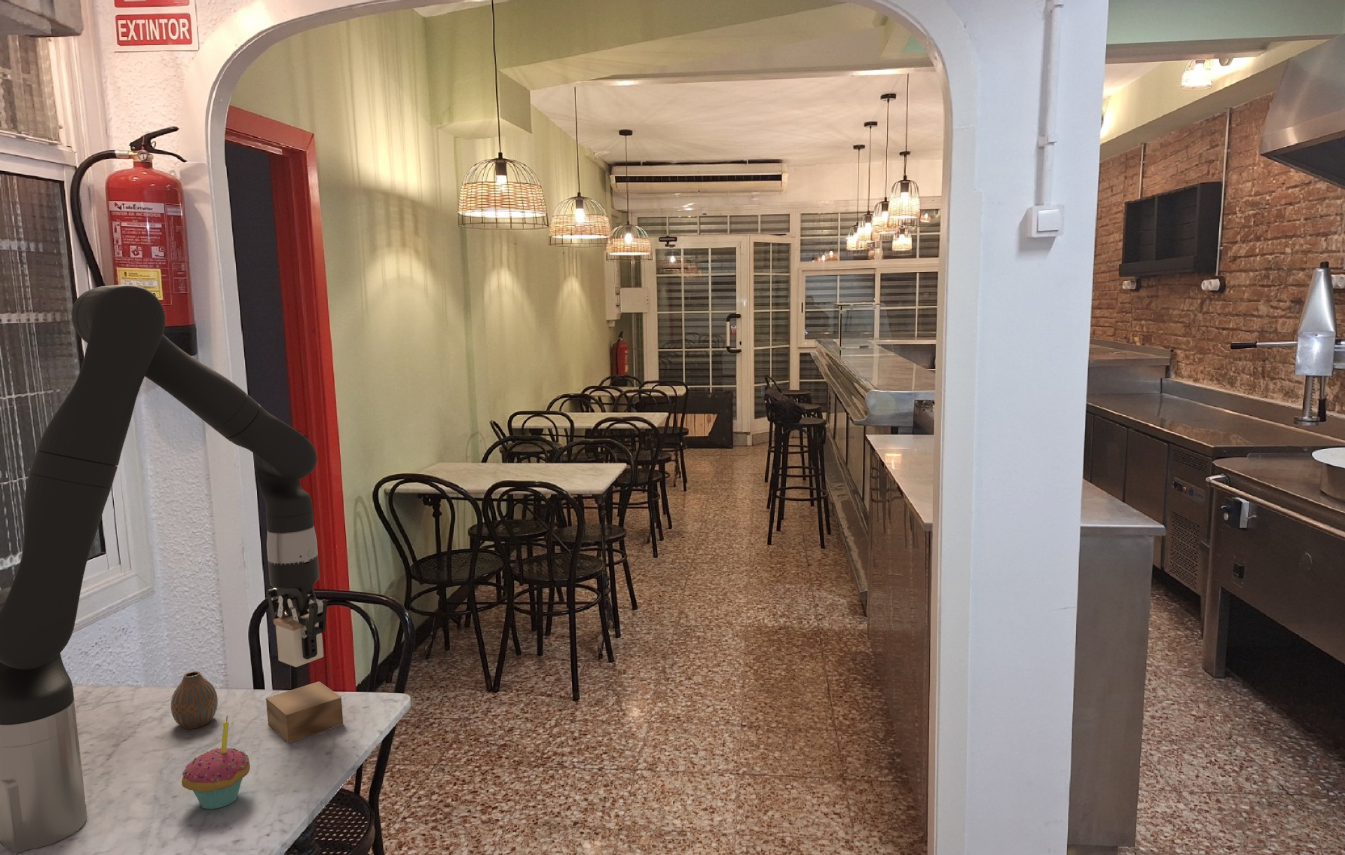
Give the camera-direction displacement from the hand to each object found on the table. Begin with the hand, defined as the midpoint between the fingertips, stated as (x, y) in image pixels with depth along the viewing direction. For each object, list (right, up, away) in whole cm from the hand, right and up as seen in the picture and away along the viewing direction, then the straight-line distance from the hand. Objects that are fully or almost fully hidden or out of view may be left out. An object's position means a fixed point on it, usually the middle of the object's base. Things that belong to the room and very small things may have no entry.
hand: (300, 653), depth 143 cm
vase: (-19, -13, +3) cm, 23 cm away
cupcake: (-3, -16, -21) cm, 26 cm away
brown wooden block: (0, -13, +2) cm, 13 cm away
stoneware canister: (0, -1, 0) cm, 1 cm away
